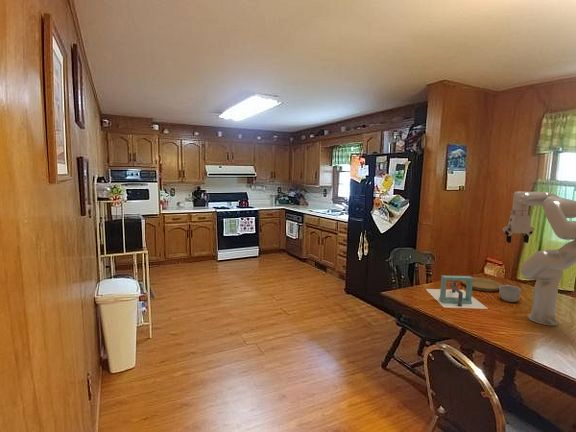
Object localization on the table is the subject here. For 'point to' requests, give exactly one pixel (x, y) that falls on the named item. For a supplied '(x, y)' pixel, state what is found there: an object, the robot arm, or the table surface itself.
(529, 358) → the table surface
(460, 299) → the dark hinged linkage
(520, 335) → the table surface
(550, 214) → the robot arm
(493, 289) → the plant saucer
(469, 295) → the teal rectangular frame
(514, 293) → the teacup
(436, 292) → the base board
